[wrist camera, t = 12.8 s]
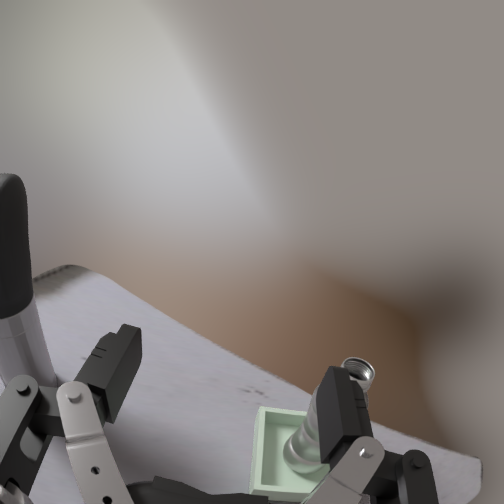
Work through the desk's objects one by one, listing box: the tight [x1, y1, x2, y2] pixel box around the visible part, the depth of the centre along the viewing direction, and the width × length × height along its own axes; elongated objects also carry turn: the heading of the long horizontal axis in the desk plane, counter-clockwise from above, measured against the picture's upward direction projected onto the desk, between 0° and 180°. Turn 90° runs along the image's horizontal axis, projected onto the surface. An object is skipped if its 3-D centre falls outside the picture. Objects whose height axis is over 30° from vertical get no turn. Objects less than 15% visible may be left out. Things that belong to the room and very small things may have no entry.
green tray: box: [249, 406, 330, 502], centre depth 37 cm, size 14×14×4 cm
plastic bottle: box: [283, 357, 375, 474], centre depth 33 cm, size 6×7×20 cm
